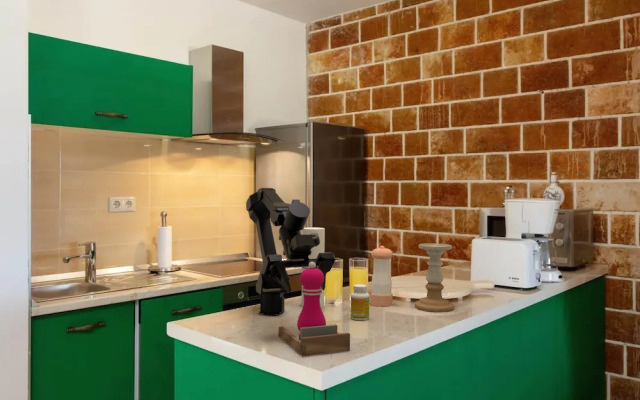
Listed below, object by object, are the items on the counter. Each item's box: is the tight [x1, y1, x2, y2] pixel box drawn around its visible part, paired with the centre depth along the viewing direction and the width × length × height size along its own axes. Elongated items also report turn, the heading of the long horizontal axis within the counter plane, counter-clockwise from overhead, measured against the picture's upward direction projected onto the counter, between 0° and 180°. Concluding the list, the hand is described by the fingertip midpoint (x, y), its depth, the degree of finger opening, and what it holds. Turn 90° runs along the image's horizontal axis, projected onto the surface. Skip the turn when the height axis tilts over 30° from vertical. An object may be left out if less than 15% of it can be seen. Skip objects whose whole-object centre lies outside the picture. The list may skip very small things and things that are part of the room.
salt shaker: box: [369, 245, 394, 307], centre depth 179 cm, size 7×7×19 cm
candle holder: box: [414, 242, 455, 313], centre depth 174 cm, size 12×12×20 cm
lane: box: [277, 325, 351, 357], centre depth 134 cm, size 18×12×4 cm
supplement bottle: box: [350, 283, 370, 321], centre depth 160 cm, size 5×5×10 cm
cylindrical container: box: [301, 227, 326, 309], centre depth 175 cm, size 7×7×25 cm
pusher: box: [299, 324, 338, 340], centre depth 131 cm, size 1×9×5 cm, turn 112°
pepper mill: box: [296, 262, 327, 340], centre depth 135 cm, size 7×7×20 cm
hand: (307, 290), depth 138 cm, fingers open, 9 cm apart
